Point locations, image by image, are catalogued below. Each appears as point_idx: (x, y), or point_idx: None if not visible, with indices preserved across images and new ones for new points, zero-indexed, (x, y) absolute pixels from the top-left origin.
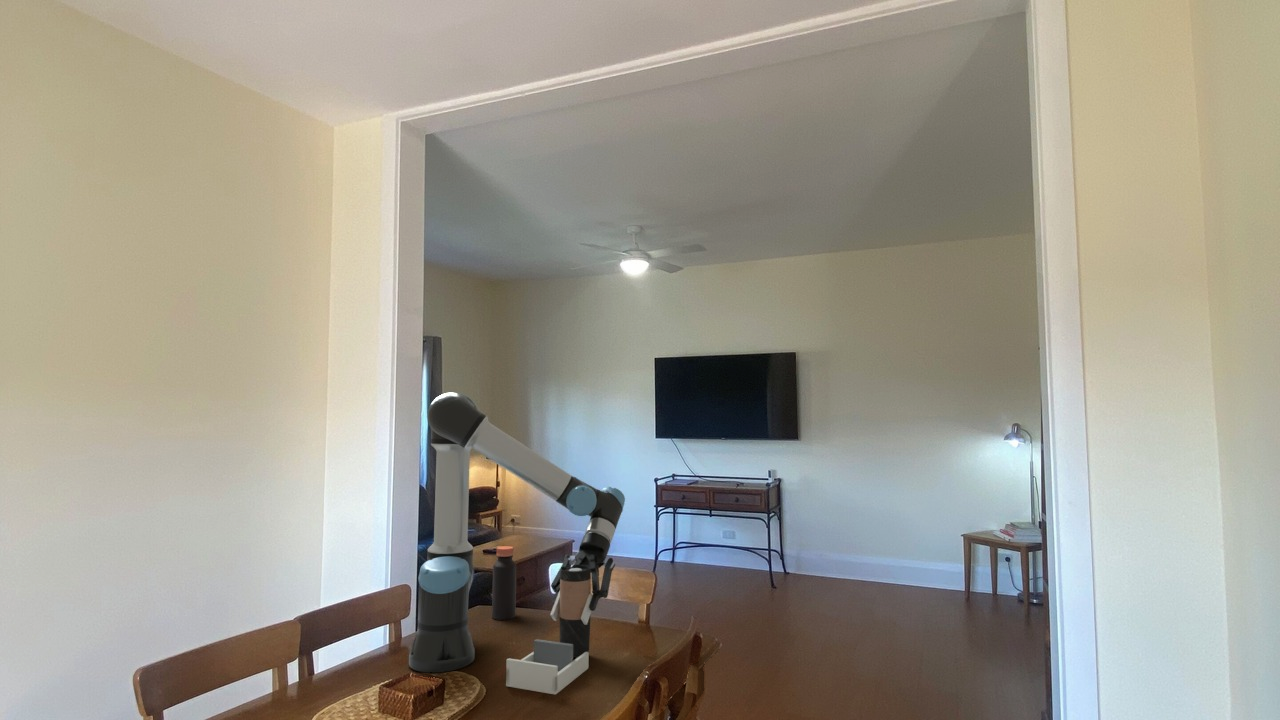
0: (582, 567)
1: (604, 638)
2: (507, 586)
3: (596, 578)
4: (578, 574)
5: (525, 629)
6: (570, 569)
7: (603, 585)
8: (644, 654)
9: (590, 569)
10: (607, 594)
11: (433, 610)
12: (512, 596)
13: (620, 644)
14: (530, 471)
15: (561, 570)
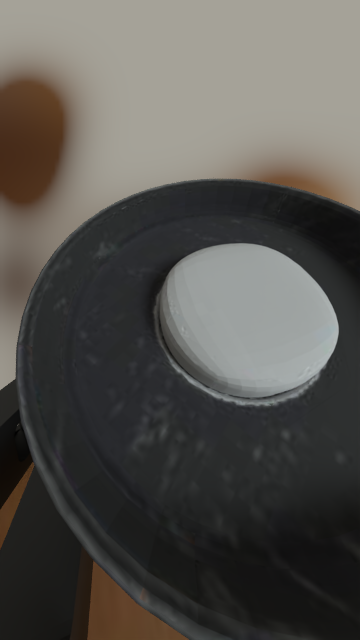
0: (251, 582)
1: (157, 627)
2: None
3: (33, 470)
4: (155, 215)
5: None
6: (299, 271)
7: (2, 404)
8: (28, 480)
9: (30, 332)
10: (19, 427)
11: None
12: None
13: (95, 562)
14: None
15: (339, 214)
